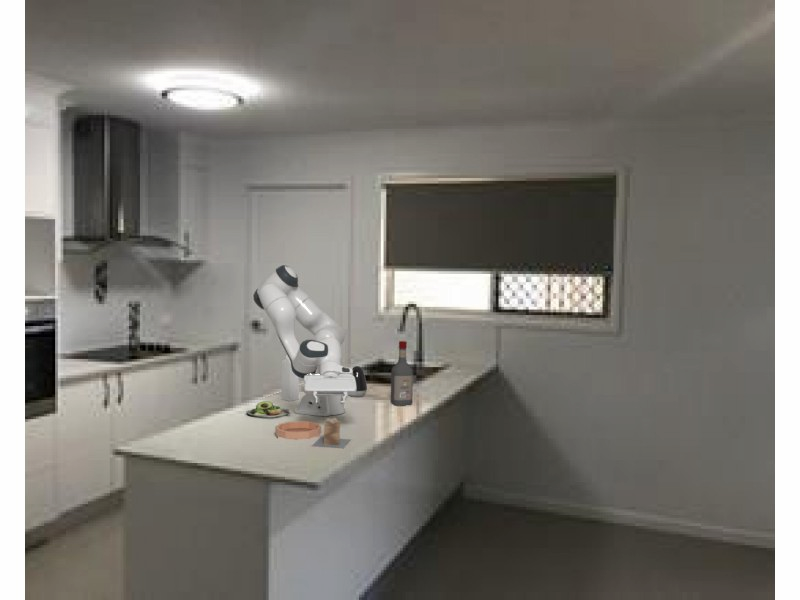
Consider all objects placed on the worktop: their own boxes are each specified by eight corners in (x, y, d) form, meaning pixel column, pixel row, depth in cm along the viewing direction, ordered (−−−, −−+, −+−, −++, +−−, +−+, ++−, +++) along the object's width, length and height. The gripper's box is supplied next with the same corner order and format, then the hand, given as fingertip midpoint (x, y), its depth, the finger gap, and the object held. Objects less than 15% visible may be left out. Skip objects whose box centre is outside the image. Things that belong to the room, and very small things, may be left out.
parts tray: (311, 448, 238) (311, 446, 238) (320, 440, 250) (320, 437, 250) (343, 451, 236) (343, 448, 236) (351, 442, 248) (351, 439, 248)
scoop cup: (324, 445, 240) (324, 420, 239) (324, 440, 245) (324, 416, 245) (339, 444, 240) (339, 419, 240) (339, 440, 246) (339, 416, 245)
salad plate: (301, 413, 292) (302, 403, 292) (275, 422, 277) (276, 411, 276) (267, 408, 302) (267, 398, 301) (240, 416, 286) (240, 405, 286)
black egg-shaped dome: (343, 397, 327) (344, 367, 326) (350, 393, 337) (350, 363, 336) (363, 398, 324) (363, 368, 323) (369, 394, 334) (369, 365, 333)
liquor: (413, 405, 312) (415, 342, 310) (395, 406, 309) (396, 343, 307) (407, 401, 320) (408, 340, 318) (389, 402, 318) (390, 340, 316)
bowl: (269, 440, 248) (269, 430, 248) (284, 428, 265) (284, 420, 265) (313, 443, 246) (313, 433, 245) (325, 431, 262) (325, 422, 262)
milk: (298, 399, 320) (299, 354, 318) (289, 401, 315) (290, 355, 314) (290, 397, 324) (291, 353, 322) (281, 399, 319) (281, 354, 318)
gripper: (304, 368, 257) (302, 398, 248) (356, 369, 260) (356, 399, 251) (304, 378, 262) (302, 407, 253) (355, 378, 264) (356, 407, 255)
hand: (330, 403), depth 252 cm, fingers open, 8 cm apart
